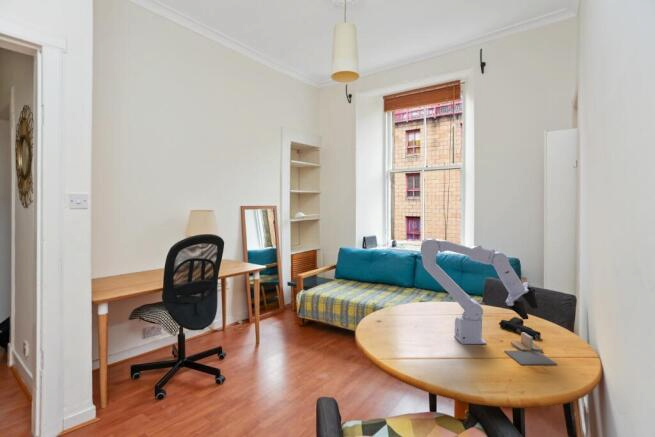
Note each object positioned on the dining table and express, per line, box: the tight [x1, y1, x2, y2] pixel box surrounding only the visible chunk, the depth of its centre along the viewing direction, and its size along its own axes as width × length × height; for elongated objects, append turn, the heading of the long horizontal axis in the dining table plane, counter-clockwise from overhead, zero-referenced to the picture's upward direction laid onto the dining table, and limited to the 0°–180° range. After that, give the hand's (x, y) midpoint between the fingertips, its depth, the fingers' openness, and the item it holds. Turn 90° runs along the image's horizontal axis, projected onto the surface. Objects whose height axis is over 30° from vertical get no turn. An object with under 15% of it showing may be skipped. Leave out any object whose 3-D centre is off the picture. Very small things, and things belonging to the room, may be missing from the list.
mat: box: [503, 350, 558, 366], centre depth 115 cm, size 12×10×1 cm
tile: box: [520, 332, 534, 350], centre depth 123 cm, size 1×5×5 cm, turn 1°
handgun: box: [498, 316, 542, 340], centre depth 141 cm, size 3×17×12 cm
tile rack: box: [510, 340, 544, 353], centre depth 123 cm, size 8×7×1 cm
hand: (530, 313), depth 125 cm, fingers open, 7 cm apart
